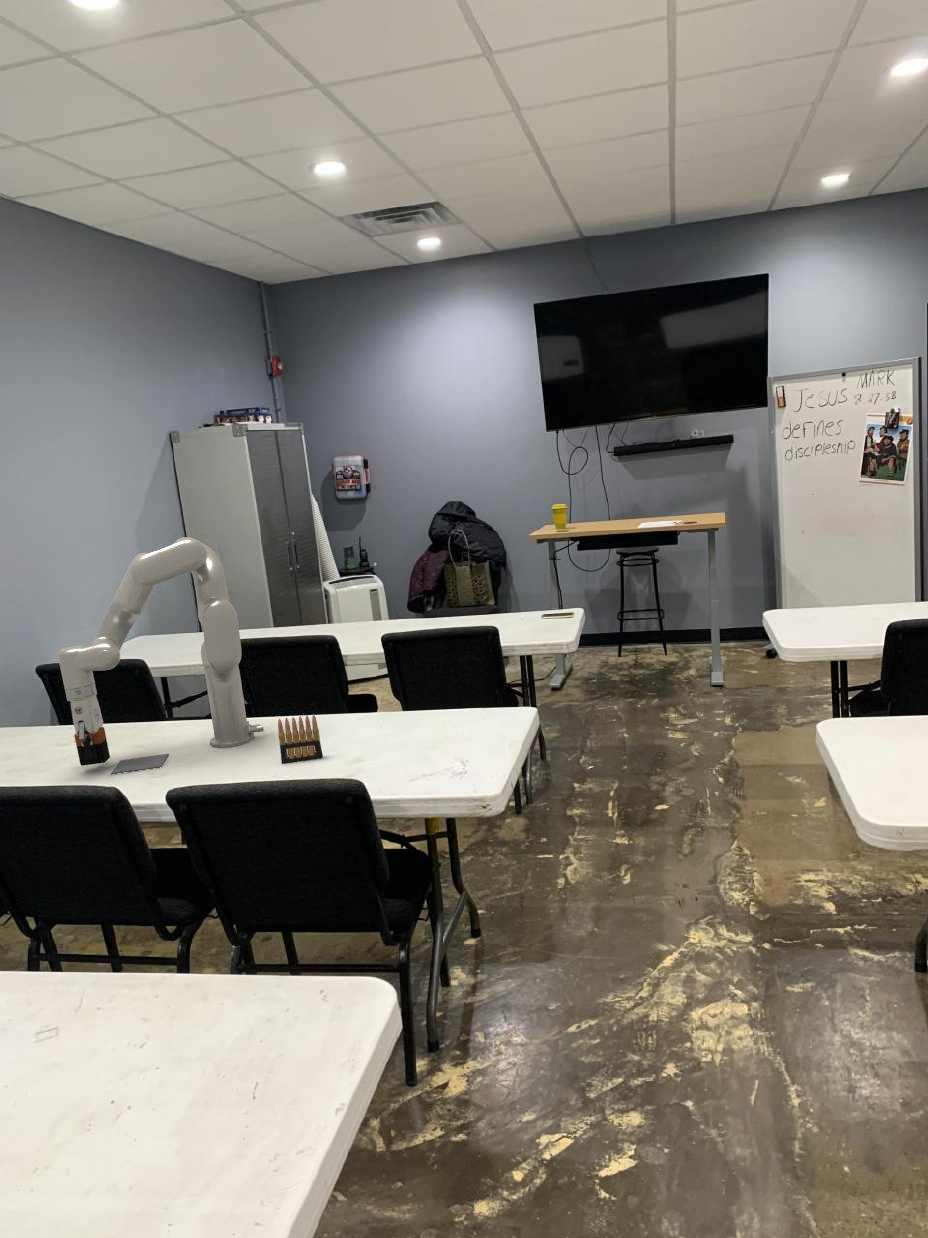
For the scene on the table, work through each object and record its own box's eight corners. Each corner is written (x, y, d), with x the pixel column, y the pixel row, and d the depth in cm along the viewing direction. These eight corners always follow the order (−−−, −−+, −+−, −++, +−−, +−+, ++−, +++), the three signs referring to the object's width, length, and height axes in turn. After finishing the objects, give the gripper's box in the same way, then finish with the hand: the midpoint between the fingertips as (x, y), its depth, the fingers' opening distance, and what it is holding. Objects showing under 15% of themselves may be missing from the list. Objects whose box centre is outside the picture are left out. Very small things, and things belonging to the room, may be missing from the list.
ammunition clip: (322, 756, 228) (317, 712, 226) (322, 758, 226) (316, 714, 224) (282, 762, 227) (275, 718, 225) (281, 764, 225) (275, 720, 223)
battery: (105, 763, 234) (98, 728, 232) (80, 766, 234) (72, 731, 232) (110, 757, 238) (103, 723, 236) (86, 761, 238) (78, 726, 236)
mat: (168, 755, 243) (168, 753, 243) (161, 767, 232) (160, 766, 232) (120, 761, 241) (120, 760, 241) (111, 774, 230) (110, 773, 230)
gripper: (86, 697, 224) (100, 764, 228) (103, 682, 241) (116, 744, 244) (56, 702, 223) (70, 768, 227) (75, 686, 240) (88, 748, 243)
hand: (94, 755), depth 235 cm, fingers closed on battery, 4 cm apart
